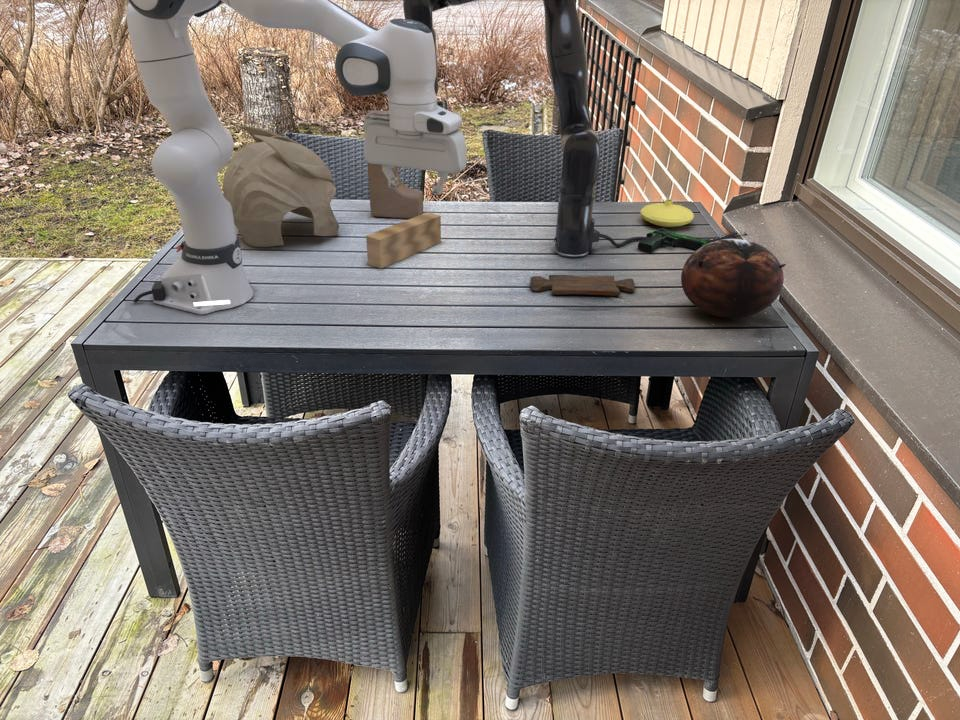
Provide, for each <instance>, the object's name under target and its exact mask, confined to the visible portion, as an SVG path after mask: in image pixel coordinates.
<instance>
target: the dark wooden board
mask: <svg viewBox="0 0 960 720" xmlns="http://www.w3.org/2000/svg"><path fill="white" fill-rule="evenodd" d="M529 278H530V285H529V286H530V291H531V292H542V291H547V290H551V294H552V295H556V296H557V295H558V296H559V295H560V296H562V295H588V296H589V295H592V296H612V297H613V296H614V297H615V296H619V295H621V291H623V292H627V293H634V290H635V282H634V279H633V278H625V279H619V280H618V279H617V280H615V276H614V275H573V274H572V275H570V274H549V275H548V279H547V278H546V277H543V276H540V275H534V276H530V277H529Z"/></svg>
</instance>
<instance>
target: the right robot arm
mask: <svg viewBox="0 0 960 720" xmlns="http://www.w3.org/2000/svg"><path fill="white" fill-rule="evenodd" d="M402 1H403V2H402V6H403V7H402V8H403V15H404V19H410V20H414V21H418V22H421V23H423V24H424V25H426V26H427V27H428V28H429V29H430V30H431V32H432V35H433V40H434V46H435V56H436V79H435V84H434V89H435V94H436V96H437V94H438V92H439V66H438V65H439V63H438V56H437V55H438V54H437V33H436V30H435V28H434V19H433V12H436V11H439V10H442V9H445V8H449V7H456V6H460V5H464V4H468V3H472V2H475V1H476V0H402ZM542 3H543V9H544V41H545V49H546V50H545V52H546V60H547V65H548V71H549V76H550V81H551V85H552V89H553V92H554V96H555V100H556V103H557V108H558V114H559V125H560V126H559V127H560V147H561V151H562V164H561V165H562V166H561V176H560V179H559V185H558V186H559V187H558V196H557V197H558V200H557V213H556V226H555V236H554V239H553V243H554V249H553V251H554V253H555V254H557V255H559V256H560V257H564V258H565V257H566V258H571V259H572V258H573V259H574V258H582V257H586V256H587V255H589V254H592V251H593V243H599V242H600V238H602V239H604V240H607V241H609V242H610V243H611V245H612V246H614V247H616V248H621V247H625V246H626V245H628V244H629V243H630V242H633V241H640V240H642V239H645V238H648V237H646V236H634V237H632V236H631V237H629V238H627V239H625V240H624V241H623V242H621V243H618V242H616V241H615V240H614V239H613V237H611V236H610V235H606V234H603V233H601V232H600V231H599V230H597V229H595V222H596V221H595V218H593V211H594V210H593V209H594V201H595V199H594V198H595V188H596V185H597V181H598V174H599V166H600V158H601V143H600V139H599V138H598V136H597V134H596V133H595V131H594V128H593V123H592V120H591V115H590V110H589V104H588V85H589V74H588V73H589V72H588V71H589V68H588V58H587V51H586V45H585V40H584V34H583V29H582V25H581V21H580V17H579V14H578V9H577V4H576V0H542ZM437 105H438V106H440V107H442V108H444V109H446V110H448V101H447V100H446V99H442V100H438V99H437ZM448 111H449V110H448ZM725 235H726V236H724V237H721V238H718V239H715V238H716V237H713V238H705V239H704V238H703V239H704V240H708V243H711V242H714V241H718V240H724V239H729V238H731V237H734V236H736V235H737V234H736V233H735V231H733V232H730V233H727V234H725ZM710 239H713V240H710Z"/></svg>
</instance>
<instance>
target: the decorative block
mask: <svg viewBox="0 0 960 720" xmlns="http://www.w3.org/2000/svg"><path fill="white" fill-rule="evenodd" d="M370 113H377V114H389V110H381V109H379V110H377V109H372V110H370V111H368V112H367V113H366V114H365V115H364V119H365V118H366V116H368V115H370ZM369 118H370V117H369ZM366 163H367V177H368V187H369V189H368V191H369V206H370V216H371V217H378V218H392V219H393V218H396V219H411V218H414V217H416V216H419V215H422V214H423V212H424V192H423V190H421V189H418V188H413V187H412V188H411V187H409V186H407V185H406V184H404V183H403V181H402V179H401V177H400V173H399V167H396V166H393V168H392V171H393V174H394V176H395V177H397V178H399V187H398V188H389V186H388V179H387V177H386V176H385V174H384V172H383V171H382V165H380V164H372V163H368V162H367V161H366Z"/></svg>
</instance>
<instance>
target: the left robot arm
mask: <svg viewBox="0 0 960 720" xmlns="http://www.w3.org/2000/svg"><path fill="white" fill-rule="evenodd" d="M127 1H128V4H127V6H126V8H125V14H126V24H127V29H128V36H129V40H130V44H131V49H132V52H133V55H134V59H135V61H136V66H137V68H138V71H139V74H140V78H141V80H142V83H143V86H144V90H145V92H146V96H147V98H148V101H149V103H150V104H151V105H152V106H153V108H155V109H157V111H159V113H160V114H161V116H162V117H163V119H164V120H165V122H166V124H167V126H168V128H169V129H170V134H171V135H170V136H167V138H164V139H163V140H162V141H161V142H160V144H159V145H158V147H157V148H156V150H155V151H154V153H153V156H152V159H151V169H152V172H153V175H154V176H155V178H156V180H157V181H158V182H159V183H160V184H161V185H162V186H163V187H164V188H166V189H167V190H168V191H169V194H170V196H171V198H172V200H173V201H174V205H175V206H176V208H177V212H178V215H179V219H180V223H181V224H180V225H181V228H182V233H183V237H184V240H183V241H182V242H181V243H180V244H179V245H177V246H176V247H175V249H177V250H176V251H175V252H176V253H179V252H180V251H181V256H180V257H179V258H178V259H176V260H175V261H174V262H173V263H172V264H171V265H170V266H169V267H168V268H166V270H165V271H164V272H163V274H162V276H161V281H160V280H159V281H154V282H153V285H152V287H151V288H150V289H151V290H147V291H144V292H142V293H140V294H138V295H137V296H135V298H134V299H133V303H134V304H136V303H137V302H139V301H140V300H141V298H143V297H147V296H149V295H152V297H153V299H152V300H153V303H154V304H156V305H160V306H164V307H169V308H172V309H175V310H180V311H184V312H187V313H188V312H189V313H193V314H197V315H207V314H210V313H213V312H217V311H223V310H229V309H232V308H235V307H239V306H242V305H243V304H245V303H247V302H249V301H250V300H251V299H253V297H254V294H255V292H254V290H253V288H252V286H251V284H250V282H249V279H248V277H247V275H246V270H245V268H244V265H243V253H242V252H243V251H242V247H241V241H240V237H239V236H238V235H237V228H236V226H235V223H234V217H233V211H232V206H231V204H230V202H229V201H227V200H226V199H225V197H224V195H223V190H222V189H221V185H220V183H219V172H220V171H221V170H223V169H224V168H225V167H227V165H229V163H230V160H231V158H232V157H233V153H234V148H235V145H234V144H235V142H234V138H233V136H232V133H231V131H230V130H229V129H228V128H227V127H226V126H225V125H223V124H222V122H221V121H220V119H219V116H218V114H217V113H216V111H215V108H214V106H213V105H212V103H211V101H210V98H209V96H208V94H207V91H206V88H205V85H204V82H203V78H202V76H201V75H202V74H201V72H200V69H199V64H198V62H197V57H196V55H195V51H194V48H193V44H192V41H191V39H190V35H189V27H188V26H189V23H190V20H191V18H192V17H196V18H201V17H203V16H204V15H206V14H208V13H210V12H212V11H213V10H215V9H217V8H218V7H220V6H221V5H222V4H223V3H224V4H225V5H226V6H228V7H229V8H231V9H232V10H233V11H234V12H236V13H237V14H239V15H240V16H242V17H243V18H245V19H247V20H248V21H251V22H253V23H255V24H257V25H258V26H261V27H264V28H268V29H286V30H288V29H289V30H290V29H291V30H299V31H300V30H301V31H307V32H310V33H313V34H316V35H319V36H321V37H323V38H324V39H326V40H328V41H329V42H331V43H332V44H334V45H336V46H337V47H339V50H338V52H337V53H336V57H335V61H334V70H335V74H336V78H337V79H338V82H339V84H340V85H341V87H342V88H343V89H344V90H345V91H346V92H347V93H349V94H351V95H352V96H356V97H371V96H374V95H379V94H384V95H386V96H387V103H388V111H389V114H377V113H370V115H368V116H366V118H364V119H363V130H364V141H363V156H364V157H363V158H364V160H365V161H366V163H367V162H368V163H372V164H380V165H382V171H383V172H384V174H385V176H386V177H387V179H388V186H389V188H398V187H399V178H397V177H395V176H394V174H393V171H392V168H393V166H396V167H398V168H405V169H413V170H420V171H427V172H428V171H429V172H436V176H437V178H439V179H438V181H437V182H435V183H434V184H432V185H431V188H432V191H431V192H432V194H433V195H439V196H440V195H442V194H443V193H444V184H445V182H446V180H447V179H448V177H449V174H451V175H458V174H460V173H461V172H462V171H463V170H464V169H465V168H466V167H467V163H468V161H467V159H468V158H467V155H468V154H467V146H466V145H467V144H466V143H467V142H466V139H465V135H464V133H463V132H462V130H460V128H461V127H462V126H463V118H462V116H460V115H459V114H457V113H455V112H453V111H450V110H446V109H444V108H442V107H440V106H438V105H437V100H438V97H437V95H436V94H435V89H434V84H435V79H436V56H435V46H434V40H433V35H432V32H431V30H430V29H429V28H428V27H427V26H426V25H424V24H423V23H421V22H418V21H414V20H410V19H405V18H402V17H401V18H393V19H390V20H389V21H388V22H386V24H384V26H382V27H381V28H378V27H374V26H372V25H370V24H368V23H366V22H365V21H363V20H362V19H360V18H359V17H357V16H356V15H354V14H352V13H351V12H349V11H347V10H346V9H345V8H343V7H341V6H340V5H338V4H337V3H335V2H333V1H332V0H127ZM369 117H370V118H369ZM368 163H367V164H368Z"/></svg>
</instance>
